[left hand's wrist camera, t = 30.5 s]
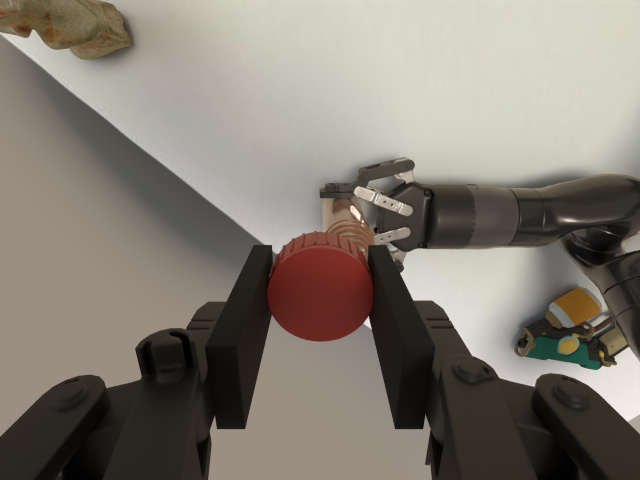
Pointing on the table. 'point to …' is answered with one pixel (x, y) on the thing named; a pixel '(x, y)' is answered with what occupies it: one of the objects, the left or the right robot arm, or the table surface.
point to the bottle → (347, 221)
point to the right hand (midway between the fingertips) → (320, 216)
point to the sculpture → (67, 24)
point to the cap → (320, 287)
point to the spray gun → (572, 333)
